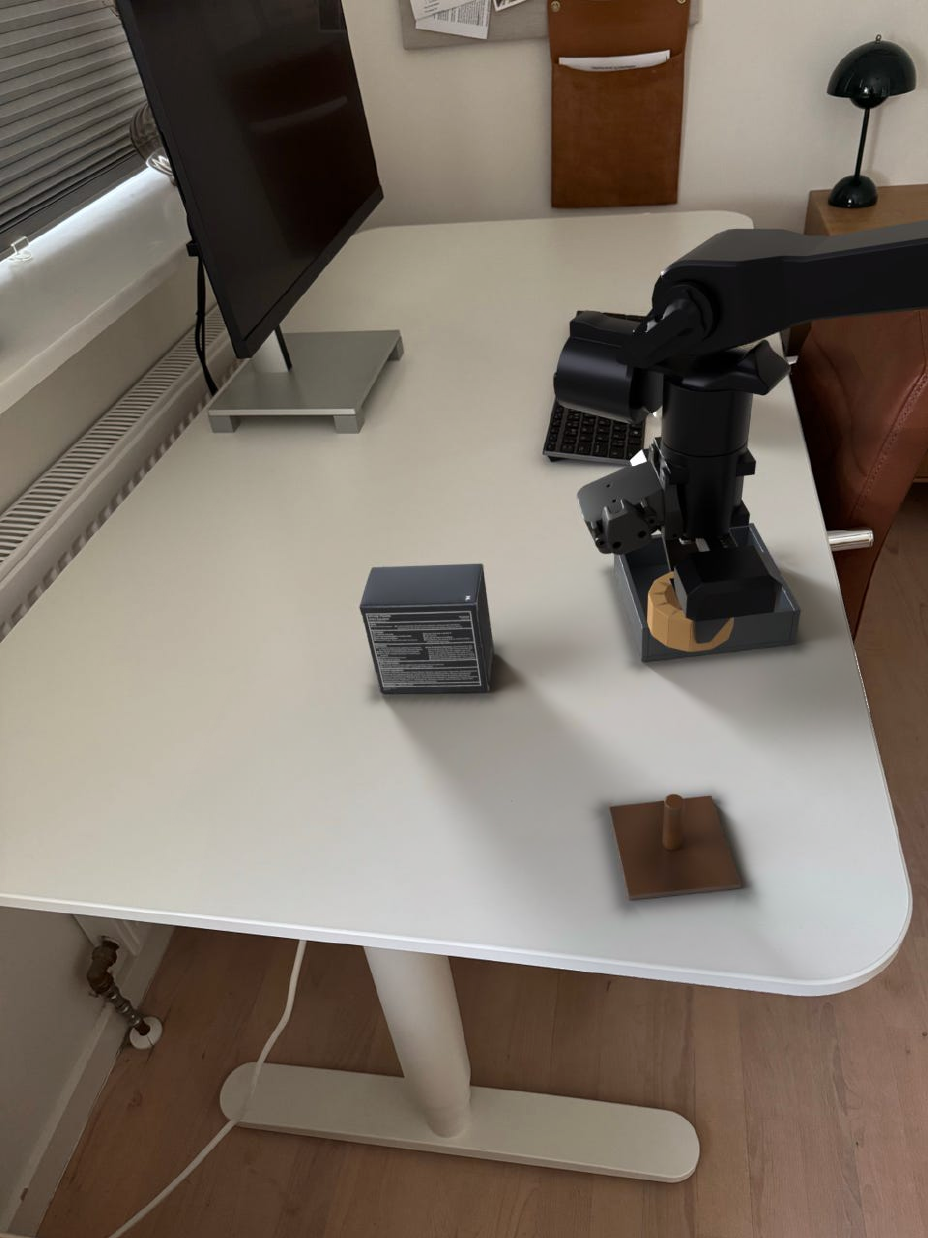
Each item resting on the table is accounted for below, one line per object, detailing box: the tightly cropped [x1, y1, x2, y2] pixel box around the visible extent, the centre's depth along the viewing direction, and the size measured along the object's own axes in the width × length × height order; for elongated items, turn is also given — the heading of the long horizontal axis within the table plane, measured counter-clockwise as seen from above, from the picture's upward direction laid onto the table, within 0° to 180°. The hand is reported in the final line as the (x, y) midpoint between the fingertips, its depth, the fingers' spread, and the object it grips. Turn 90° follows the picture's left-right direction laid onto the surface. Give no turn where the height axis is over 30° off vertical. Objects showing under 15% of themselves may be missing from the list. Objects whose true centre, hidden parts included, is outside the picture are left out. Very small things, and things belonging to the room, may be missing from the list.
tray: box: [613, 522, 802, 663], centre depth 86 cm, size 14×14×4 cm
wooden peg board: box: [608, 793, 742, 901], centre depth 65 cm, size 8×8×6 cm
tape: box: [647, 572, 734, 652], centre depth 69 cm, size 6×6×3 cm
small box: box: [358, 563, 495, 694], centre depth 81 cm, size 11×6×10 cm, turn 84°
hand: (691, 613), depth 70 cm, fingers closed on tape, 6 cm apart
